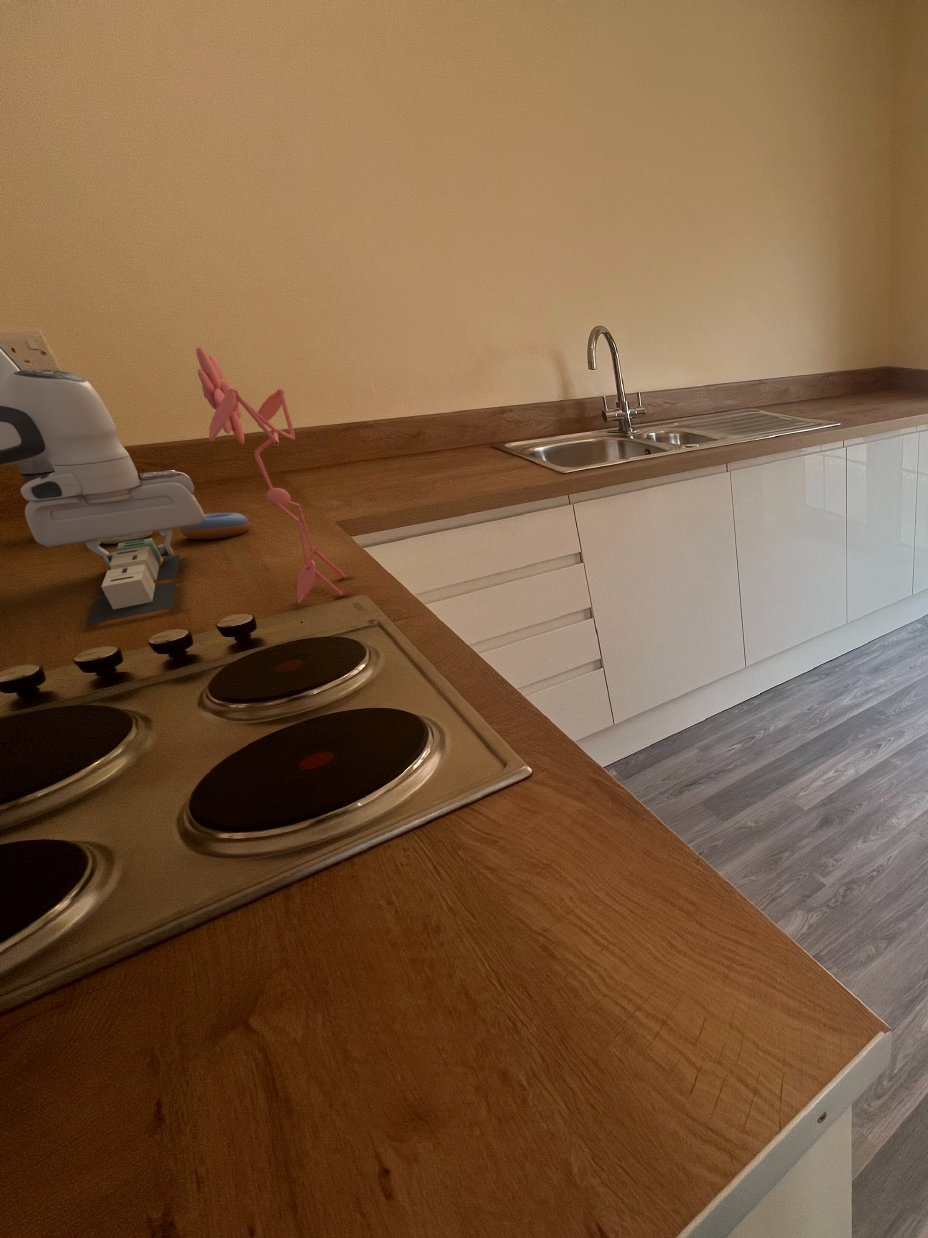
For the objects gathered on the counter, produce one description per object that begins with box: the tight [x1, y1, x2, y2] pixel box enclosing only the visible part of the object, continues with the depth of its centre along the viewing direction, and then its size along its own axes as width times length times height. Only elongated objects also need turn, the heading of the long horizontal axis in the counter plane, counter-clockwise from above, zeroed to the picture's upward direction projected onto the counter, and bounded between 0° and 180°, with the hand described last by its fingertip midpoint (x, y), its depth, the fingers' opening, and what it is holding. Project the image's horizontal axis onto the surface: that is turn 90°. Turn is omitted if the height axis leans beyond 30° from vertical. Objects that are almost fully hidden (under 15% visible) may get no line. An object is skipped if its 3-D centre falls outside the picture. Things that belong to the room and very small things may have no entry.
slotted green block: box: [116, 537, 162, 564], centre depth 117 cm, size 4×4×4 cm
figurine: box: [195, 346, 353, 604], centre depth 98 cm, size 15×26×35 cm, turn 32°
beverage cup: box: [18, 457, 55, 483], centre depth 135 cm, size 7×7×20 cm
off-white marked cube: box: [113, 546, 159, 573], centre depth 113 cm, size 4×4×4 cm
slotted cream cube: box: [108, 553, 158, 582], centre depth 110 cm, size 4×4×4 cm
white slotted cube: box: [104, 564, 156, 593], centre depth 105 cm, size 4×4×4 cm
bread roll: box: [99, 531, 154, 545], centre depth 132 cm, size 8×9×4 cm
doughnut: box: [178, 512, 250, 541], centre depth 132 cm, size 10×10×5 cm
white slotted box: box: [100, 572, 154, 609], centre depth 102 cm, size 4×4×4 cm
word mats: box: [85, 554, 180, 625], centre depth 109 cm, size 9×31×1 cm, turn 40°
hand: (141, 559), depth 117 cm, fingers open, 5 cm apart
